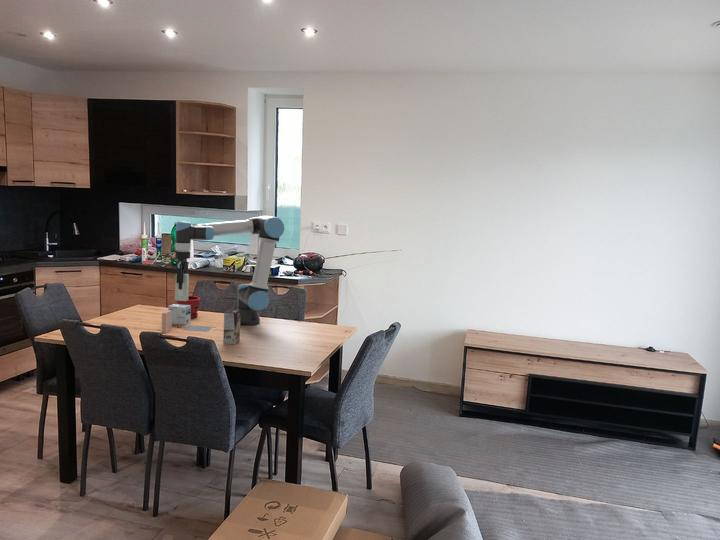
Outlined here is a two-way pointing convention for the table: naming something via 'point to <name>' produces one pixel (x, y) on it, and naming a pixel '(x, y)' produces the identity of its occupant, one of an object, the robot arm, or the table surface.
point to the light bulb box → (180, 313)
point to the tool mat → (197, 328)
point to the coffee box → (231, 326)
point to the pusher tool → (186, 288)
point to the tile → (166, 321)
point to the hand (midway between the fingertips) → (181, 294)
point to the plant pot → (194, 304)
